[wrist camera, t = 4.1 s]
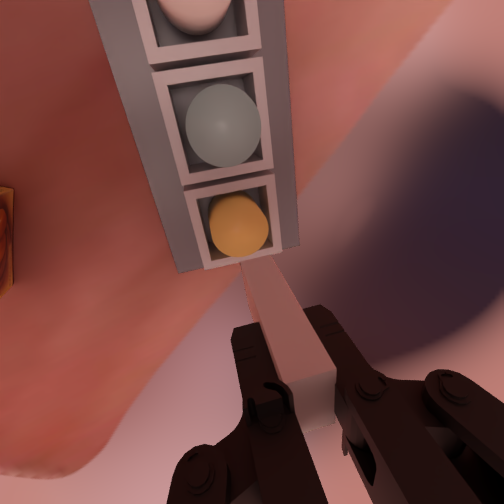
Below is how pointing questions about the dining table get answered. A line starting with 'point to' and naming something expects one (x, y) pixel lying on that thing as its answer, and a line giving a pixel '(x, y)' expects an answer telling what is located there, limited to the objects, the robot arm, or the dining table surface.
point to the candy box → (6, 239)
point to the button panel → (175, 110)
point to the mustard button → (237, 224)
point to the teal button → (223, 125)
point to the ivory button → (194, 14)
